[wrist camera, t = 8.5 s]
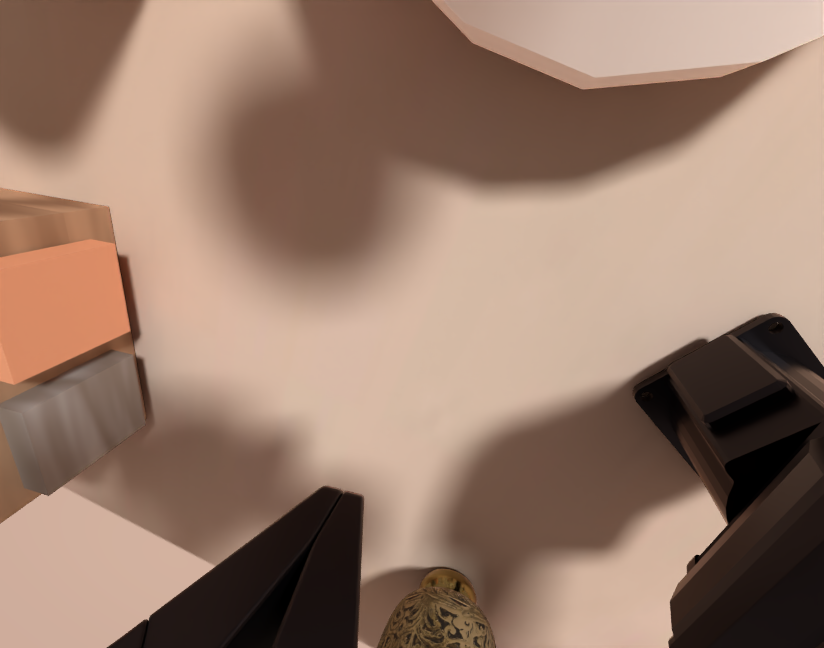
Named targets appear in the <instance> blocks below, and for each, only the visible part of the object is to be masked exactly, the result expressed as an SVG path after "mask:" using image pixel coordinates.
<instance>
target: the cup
mask: <svg viewBox="0 0 824 648" xmlns="http://www.w3.org/2000/svg"><path fill="white" fill-rule="evenodd" d="M476 602H477V599H476V594H475V591H474V588H473V586H472V584H471V582H470V581H469V580H468V579H467V578H466V577H465V576H464V575H462V574H461V573H459V572H457V571H454V570H451V569H436V570H433V571H431V572H429V573H428V574H427V575H426V576H425V578H424V579H423V580H422V582H421V584H420V588H419V589H418V590H416V591H414V592H412V593H410V594H409V595H407V596H406V597H405V598H404V599H403V600H402V601H401V602H400V603H399V605H398V606H397V607H396V608H395V610H394V612H393V613H392V615H391V617H390V619H389V621H388V623H387V625H386V627H385V629H384V632H383V634H382V636H381V639H380V641H379V644H378V646H377V648H496V646H495V641H494V636H493V633H492V630H491V627H490V625H489V623H488V621H487V619H486V617H485V615H484V614H483V612H482V611H481V610H480V608H479V607H478V606H477V605H476Z"/></svg>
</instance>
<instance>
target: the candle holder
mask: <svg viewBox="0 0 824 648" xmlns="http://www.w3.org/2000/svg"><path fill="white" fill-rule="evenodd" d="M432 1H433V2H434V3H435V4H436V6H437V7H438V8H439V9H440V10H441V11H442V12H443V13H444V14H445V15H446V16H447V17H448V18H449V19H450V20H451V21H452V22H453V23H454V24H455V25H456V27H457V28H458V29H459V30H460V31H461V32H462V33H463V34H464V35H465V36H466V37H467V38H468V39H469V40H470V41H471V42H472V43H473V44H476V45H478V46H481V47H483V48H485V49H488V50H490V51H492V52H495V53H497V54H499V55H502V56H504V57H507V58H509V59H511V60H514V61H516V62H518V63H521V64H523V65H525V66H528V67H530V68H533V69H535V70H537V71H540V72H542V73H544V74H547V75H549V76H551V77H554V78H556V79H559V80H561V81H563V82H566V83H568V84H570V85H573V86H575V87H577V88H580V89H582V90H584V89H595V88H606V87H617V86H628V85H639V84H650V83H661V82H672V81H683V80H694V79H706V78H717V77H722V76H725V75H728V74H731V73H733V72H736V71H739V70H742V69H744V68H747V67H750V66H752V65H755V64H758V63H761V62H763V61H766V60H768V59H770V58H773V57H775V56H777V55H780V54H782V53H784V52H787V51H789V50H792V49H794V48H796V47H799V46H801V45H803V44H806V43H808V42H810V41H813V40H815V39H817V38H820V37H822V36H824V0H432Z"/></svg>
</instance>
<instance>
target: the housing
mask: <svg viewBox="0 0 824 648" xmlns="http://www.w3.org/2000/svg"><path fill="white" fill-rule="evenodd" d="M88 239H93V240H98V241H103V242H108V243H114V244H115V239H114V233H113V228H112V222H111V216H110V211H109V207H107V206H101V205H95V204H89V203H84V202H78V201H72V200H66V199H61V198H55V197H49V196H43V195H37V194H32V193H26V192H20V191H14V190H9V189H3V188H0V257H4V256H9V255H14V254H19V253H24V252H29V251H34V250H39V249H44V248H49V247H54V246H59V245H63V244H68V243H73V242H78V241H83V240H88ZM115 248H116V244H115ZM116 253H117V250H116ZM117 259H118V256H117ZM118 264H119V261H118ZM119 270H120V267H119ZM120 276H121V272H120ZM121 281H122V278H121ZM122 287H123V284H122ZM123 292H124V289H123ZM124 298H125V295H124ZM125 303H126V300H125ZM126 309H127V306H126ZM127 315H128V311H127ZM128 320H129V317H128ZM129 326H130V323H129ZM145 419H146V412H145V407H144V401H143V395H142V390H141V384H140V379H139V373H138V367H137V362H136V356H135V351H134V345H133V339H132V334H131V328H130V332H127V333H125V334H123V335H121V336H119V337H117V338H115V339H112V340H110V341H108V342H106V343H104V344H102V345H99V346H97V347H95V348H93V349H91V350H89V351H86V352H84V353H82V354H80V355H78V356H76V357H73V358H71V359H69V360H67V361H65V362H63V363H61V364H58V365H56V366H54V367H52V368H50V369H48V370H45V371H43V372H41V373H39V374H37V375H35V376H32V377H30V378H28V379H26V380H24V381H22V382H19V383H17V384H15V385H13V384H10V383H6V382H2V381H0V523H2V522H3V521H5V520H6V519H7V518H9V517H10V516H11V515H13V514H14V513H16V512H17V511H18V510H20V509H21V508H23V507H24V506H25V505H26V504H28V503H29V502H31V501H32V500H34V499H35V498H37V497H38V496H39V495H41V494H44V495H48V496H49V495H50V494H52V493H53V492H55V491H56V490H57V489H59V488H60V487H61V486H63V485H64V484H66V483H67V482H68V481H70V480H71V479H72V478H74V477H75V476H76V475H78V474H79V473H81V472H82V471H83V470H85V469H86V468H87V467H89V466H90V465H91V464H93V463H94V462H96V461H97V460H98V459H100V458H101V457H102V456H104V455H105V454H106V453H108V452H109V451H110V450H112V449H113V448H115V447H116V446H117V445H119V444H120V443H121V442H123V441H124V440H125V439H127V438H128V437H130V436H131V435H132V434H134V433H135V432H136V431H138V430H139V429H140V428H142V427H143V426H145V425H146V423H145Z"/></svg>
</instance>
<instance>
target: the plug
mask: <svg viewBox="0 0 824 648" xmlns="http://www.w3.org/2000/svg"><path fill="white" fill-rule="evenodd" d="M127 332H130V326H129V320H128V315H127V309H126V303H125V298H124V292H123V287H122V281H121V276H120V270H119V264H118V259H117V253H116V248H115V244H114V243H108V242H103V241H98V240H93V239H88V240H83V241H78V242H73V243H68V244H63V245H59V246H54V247H49V248H44V249H39V250H34V251H29V252H24V253H19V254H14V255H9V256H4V257H0V381H2V382H6V383H10V384H13V385H15V384H17V383H19V382H22V381H24V380H26V379H28V378H30V377H32V376H35V375H37V374H39V373H41V372H43V371H45V370H48V369H50V368H52V367H54V366H56V365H58V364H61V363H63V362H65V361H67V360H69V359H71V358H73V357H76V356H78V355H80V354H82V353H84V352H86V351H89V350H91V349H93V348H95V347H97V346H99V345H102V344H104V343H106V342H108V341H110V340H112V339H115V338H117V337H119V336H121V335H123V334H125V333H127Z"/></svg>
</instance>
